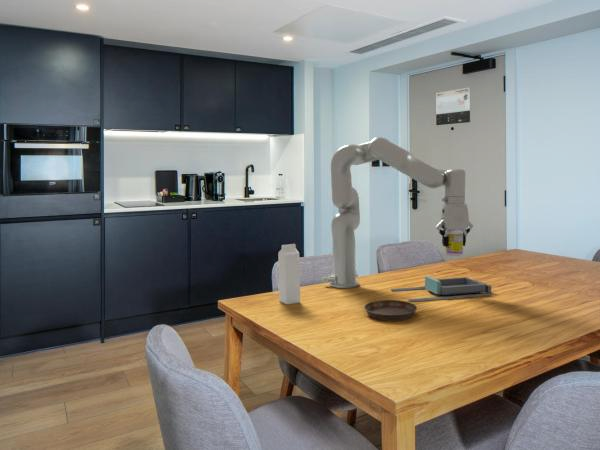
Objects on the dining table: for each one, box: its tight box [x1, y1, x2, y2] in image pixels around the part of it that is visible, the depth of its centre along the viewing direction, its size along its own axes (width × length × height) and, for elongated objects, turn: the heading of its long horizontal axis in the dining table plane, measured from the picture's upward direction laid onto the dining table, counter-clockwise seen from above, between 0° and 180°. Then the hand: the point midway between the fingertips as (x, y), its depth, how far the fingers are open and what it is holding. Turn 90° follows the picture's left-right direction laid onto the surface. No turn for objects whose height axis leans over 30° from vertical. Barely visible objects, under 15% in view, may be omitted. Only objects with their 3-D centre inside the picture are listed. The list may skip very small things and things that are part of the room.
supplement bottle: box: [444, 230, 464, 257], centre depth 199 cm, size 7×7×13 cm
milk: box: [277, 243, 301, 305], centre depth 190 cm, size 6×6×22 cm
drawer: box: [424, 275, 486, 296], centre depth 201 cm, size 20×14×6 cm
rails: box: [390, 279, 492, 303], centre depth 200 cm, size 36×18×3 cm, turn 102°
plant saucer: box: [363, 299, 418, 322], centre depth 172 cm, size 18×18×3 cm
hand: (453, 245), depth 199 cm, fingers closed on supplement bottle, 6 cm apart
